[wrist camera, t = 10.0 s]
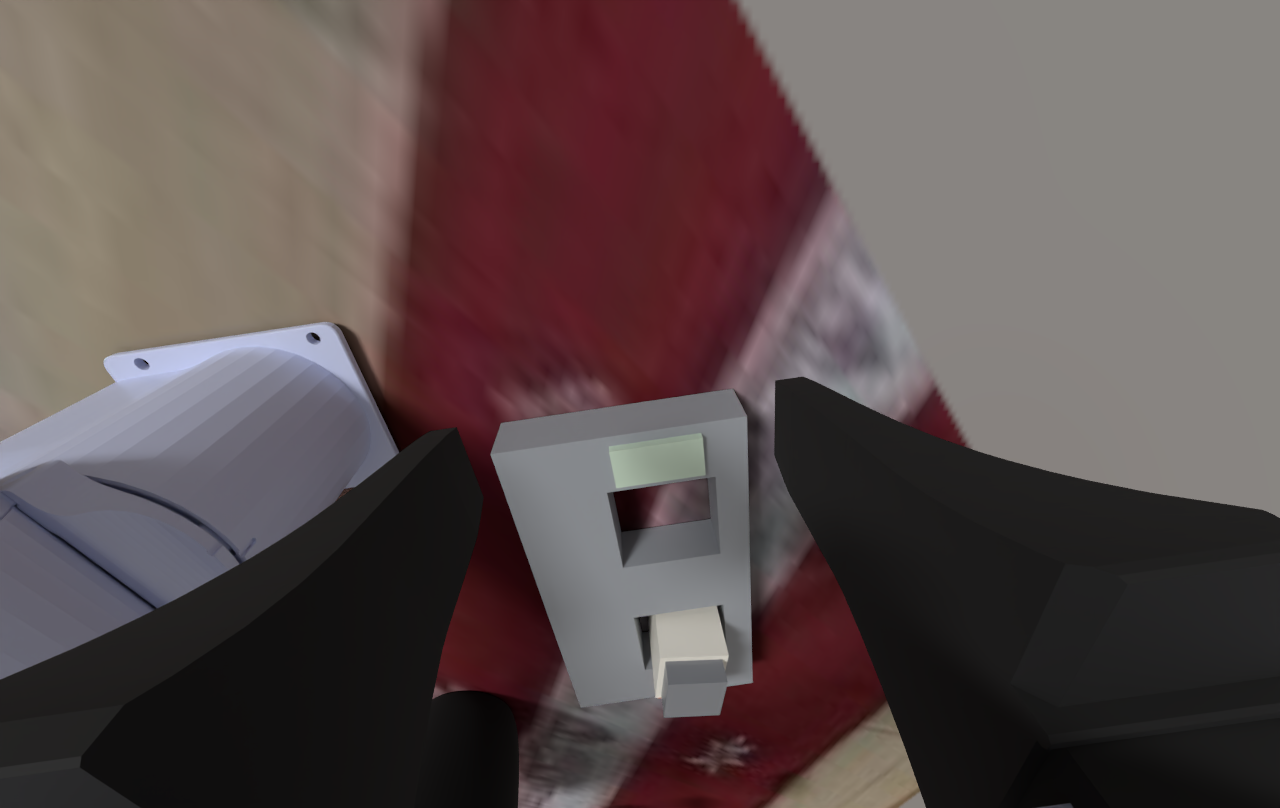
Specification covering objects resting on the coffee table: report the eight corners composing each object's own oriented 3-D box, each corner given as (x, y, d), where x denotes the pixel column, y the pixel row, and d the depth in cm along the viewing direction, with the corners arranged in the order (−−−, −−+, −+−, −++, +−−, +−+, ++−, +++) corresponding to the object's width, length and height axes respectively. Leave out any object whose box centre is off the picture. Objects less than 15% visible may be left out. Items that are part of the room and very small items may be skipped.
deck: (582, 669, 32) (580, 714, 30) (501, 423, 22) (488, 460, 20) (742, 645, 32) (754, 689, 30) (733, 388, 22) (749, 421, 20)
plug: (647, 620, 30) (657, 721, 25) (651, 581, 29) (662, 681, 23) (703, 618, 31) (724, 717, 26) (710, 580, 29) (734, 678, 24)
